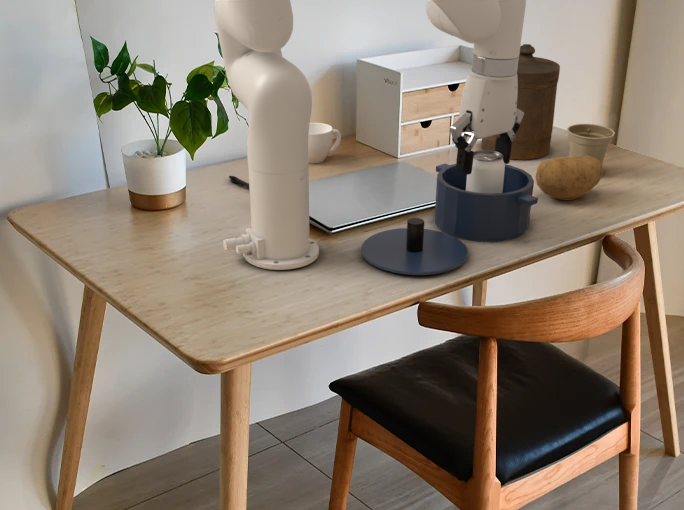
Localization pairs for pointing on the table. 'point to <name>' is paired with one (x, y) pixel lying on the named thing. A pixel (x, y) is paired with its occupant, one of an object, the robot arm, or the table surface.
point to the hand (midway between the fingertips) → (482, 166)
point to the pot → (483, 206)
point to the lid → (414, 250)
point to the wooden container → (532, 106)
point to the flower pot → (589, 140)
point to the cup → (321, 141)
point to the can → (486, 172)
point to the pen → (238, 181)
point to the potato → (568, 176)
